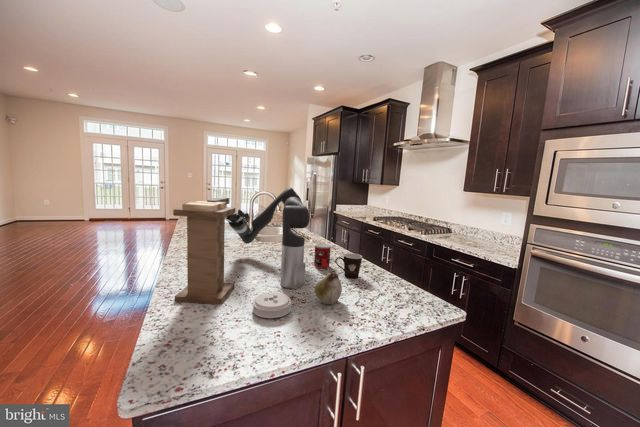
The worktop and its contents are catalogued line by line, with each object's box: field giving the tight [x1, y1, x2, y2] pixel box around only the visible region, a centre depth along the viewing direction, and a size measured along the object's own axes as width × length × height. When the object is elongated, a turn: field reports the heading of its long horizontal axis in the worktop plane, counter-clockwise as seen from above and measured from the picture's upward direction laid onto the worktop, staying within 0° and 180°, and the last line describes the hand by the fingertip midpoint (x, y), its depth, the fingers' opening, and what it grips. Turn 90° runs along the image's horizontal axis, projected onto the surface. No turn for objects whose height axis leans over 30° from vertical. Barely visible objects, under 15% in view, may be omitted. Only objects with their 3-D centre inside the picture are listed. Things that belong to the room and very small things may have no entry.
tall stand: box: [172, 206, 236, 305], centre depth 98 cm, size 14×16×32 cm
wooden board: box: [181, 197, 230, 212], centre depth 101 cm, size 26×10×2 cm, turn 0°
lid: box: [252, 291, 292, 319], centre depth 90 cm, size 13×13×5 cm
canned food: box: [313, 243, 332, 269], centre depth 139 cm, size 8×8×11 cm
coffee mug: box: [334, 252, 363, 280], centre depth 127 cm, size 12×9×10 cm
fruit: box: [314, 272, 343, 305], centre depth 99 cm, size 10×9×12 cm
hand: (229, 210), depth 120 cm, fingers open, 8 cm apart
